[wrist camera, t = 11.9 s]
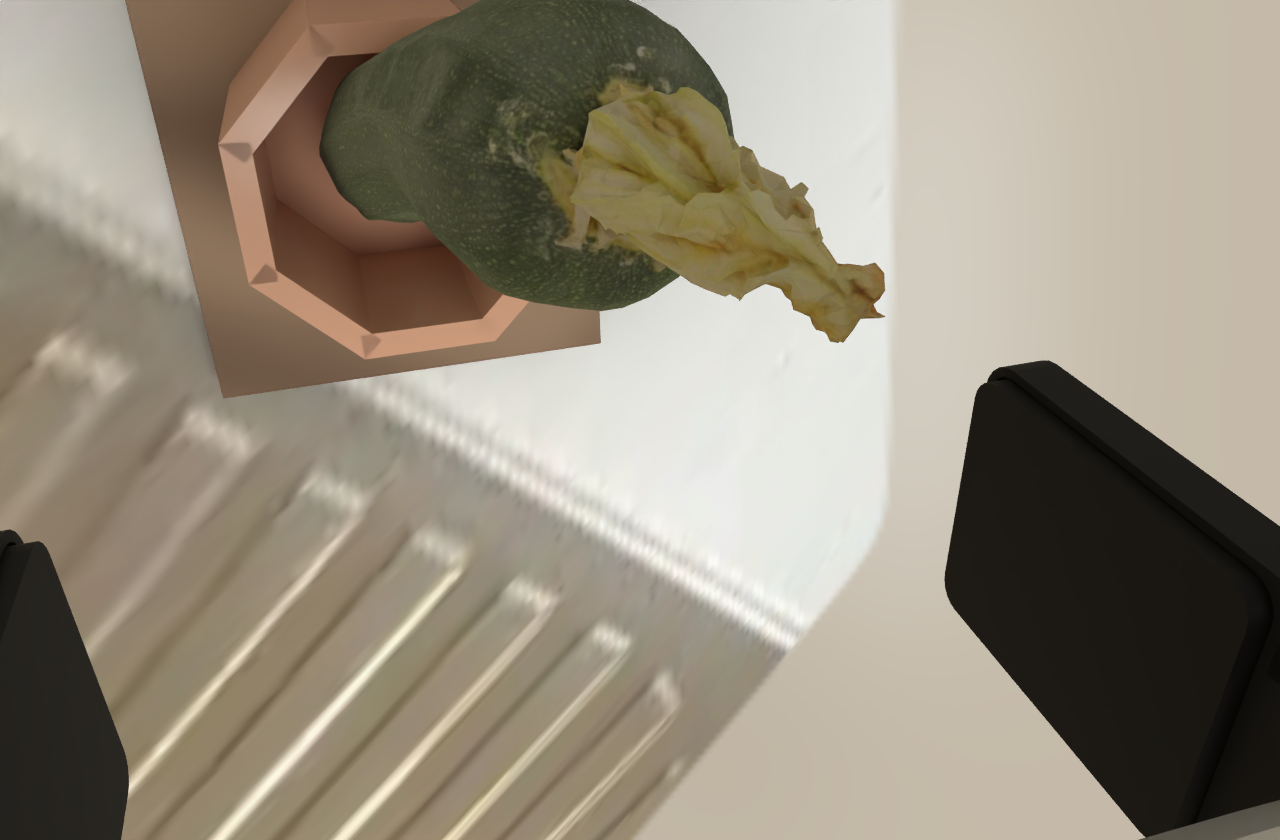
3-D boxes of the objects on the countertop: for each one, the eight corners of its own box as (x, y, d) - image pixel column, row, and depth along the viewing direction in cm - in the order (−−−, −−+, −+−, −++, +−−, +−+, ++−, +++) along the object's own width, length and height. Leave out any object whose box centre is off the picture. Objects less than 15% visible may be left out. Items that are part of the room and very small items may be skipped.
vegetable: (272, 68, 25) (517, -50, 8) (442, 24, 26) (993, -165, 9) (336, 245, 27) (660, 491, 9) (493, 195, 28) (1042, 328, 10)
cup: (210, -9, 25) (193, 32, 20) (512, -26, 26) (566, 7, 21) (270, 277, 28) (268, 373, 23) (532, 245, 30) (583, 328, 25)
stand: (93, -172, 24) (82, -173, 23) (564, -183, 27) (578, -183, 25) (225, 375, 31) (223, 398, 30) (588, 323, 33) (600, 343, 32)
